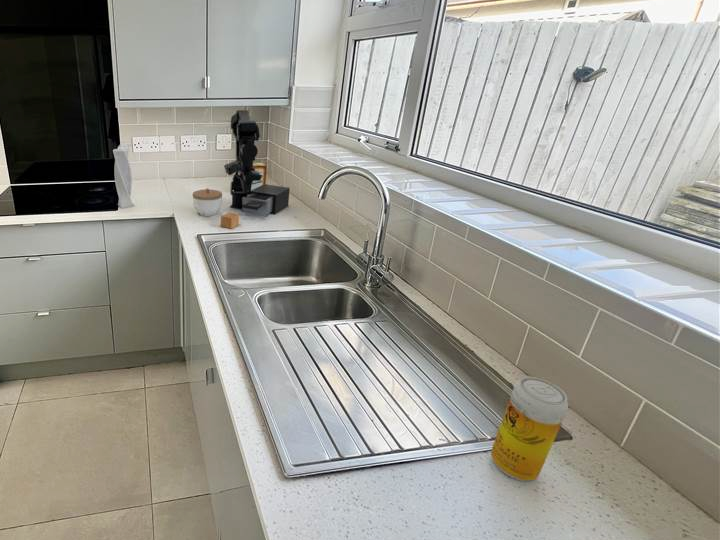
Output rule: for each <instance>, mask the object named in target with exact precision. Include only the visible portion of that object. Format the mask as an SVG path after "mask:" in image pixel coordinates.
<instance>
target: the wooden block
mask: <svg viewBox="0 0 720 540" xmlns="http://www.w3.org/2000/svg"><path fill="white" fill-rule="evenodd" d="M239 224H240V214H239V213H236V212H229V211H227V212H226V213H224V214H223V215H221V216H220V227H221V228H226V229H230V230H232V229H233V228H234V229H235V228H236V227H237V226H239Z"/></svg>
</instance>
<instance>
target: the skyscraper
mask: <svg viewBox="0 0 720 540" xmlns="http://www.w3.org/2000/svg"><path fill="white" fill-rule="evenodd" d="M123 145H127V146H128V147H127V148H125V147H123ZM130 146H131V144H130V143H127V142H125V143H120V144H119V145H118V146H117V148H114V149H113V150H112V153H113V157H114V168H113V169H114V172H113V173H114V174H113V175H114V182H115V188H116V192H117V196H118V201H117V202H118V203H117V206H118V207H120V208H122V209H123V208H124V209H125V208H129V207H134V204H133V202H132V199H131V195H132V184H133V180H132V179H133V177H132V169H131V165H130V162H129V159H128V158H129V152H130Z"/></svg>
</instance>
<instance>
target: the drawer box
mask: <svg viewBox="0 0 720 540" xmlns="http://www.w3.org/2000/svg"><path fill="white" fill-rule="evenodd" d="M253 193H255V194H261V195H267V196H273V197H274V211H272V212H270V213H269V214H271V215H276V214H279V212H281V211H283V210H284V209H286V208H288V207H289V202H290V187H287V186H280V185H273V184H268V183H267V184H266V183H265V184H264V185H262V186H259V187H257V188H255V189H253V190H251V191H250V195H251V194H253Z"/></svg>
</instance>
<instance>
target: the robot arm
mask: <svg viewBox="0 0 720 540" xmlns="http://www.w3.org/2000/svg"><path fill="white" fill-rule="evenodd" d="M249 113H250V112H249V110H247V109H238V110H236V112H235V113H234V114H233V115H232V116H231V117H230V130H231V135H232V136H233V137H234V139H235V160H234V161H231V162H228V163H226V164H225V165H223V167H224V170H225V173H226V174H227V175H228V176H231V175H233V174H234V175H233V176H232V181H230V188H229V189H230V196H231V205H230V206H229V207H230V208H232V209H233V208H234V209H239V210H242V199H243V197H247V195H250V191H251V186H252V185H251V184H252V182H253V181H260V180H261V175H260V174H259V173H258V172H256V171H255V168H253V163H254V161H256V157H257V155H258V153H259V152H258V151H259V150H258V147H257V146H256V145H255V142H259V139H260V137H261V135H260V127H259V124H258V123H257V121H256V120H255V119H252V117H251V115H250V114H249Z"/></svg>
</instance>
